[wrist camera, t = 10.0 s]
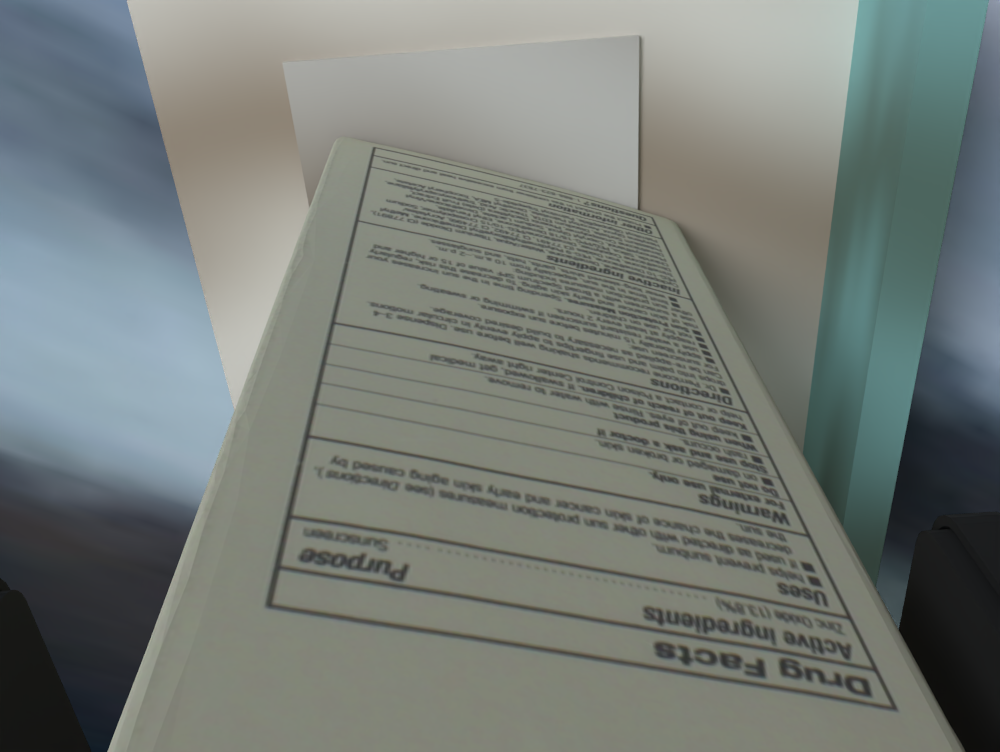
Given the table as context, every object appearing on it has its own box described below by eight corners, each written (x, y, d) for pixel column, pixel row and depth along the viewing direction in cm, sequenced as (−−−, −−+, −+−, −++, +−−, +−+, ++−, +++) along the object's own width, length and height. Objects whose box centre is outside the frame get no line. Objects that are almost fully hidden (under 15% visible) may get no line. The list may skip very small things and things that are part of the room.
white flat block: (771, 771, 26) (813, 909, 23) (355, 795, 27) (336, 935, 23) (883, -81, 15) (998, -52, 12) (154, -24, 15) (62, 20, 12)
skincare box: (292, 347, 17) (-9, 1181, 7) (335, 122, 15) (-9, 828, 4) (618, 423, 18) (805, 1252, 8) (703, 222, 16) (1123, 990, 5)
